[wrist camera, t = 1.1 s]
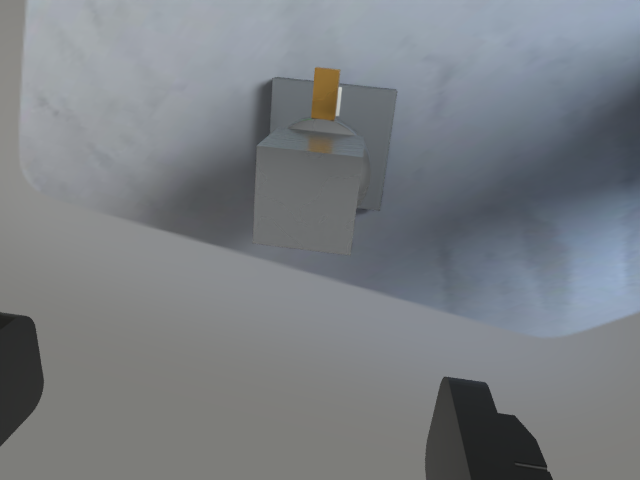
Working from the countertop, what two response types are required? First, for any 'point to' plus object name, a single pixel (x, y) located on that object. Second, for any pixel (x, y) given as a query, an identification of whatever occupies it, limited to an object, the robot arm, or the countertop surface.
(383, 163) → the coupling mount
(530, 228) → the countertop surface
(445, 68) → the countertop surface
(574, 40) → the countertop surface
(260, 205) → the collar
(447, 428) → the robot arm
